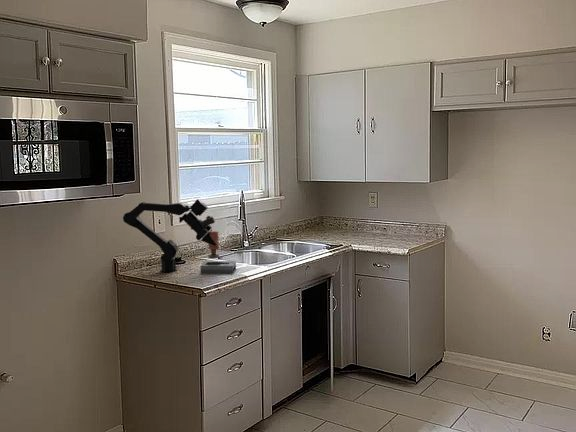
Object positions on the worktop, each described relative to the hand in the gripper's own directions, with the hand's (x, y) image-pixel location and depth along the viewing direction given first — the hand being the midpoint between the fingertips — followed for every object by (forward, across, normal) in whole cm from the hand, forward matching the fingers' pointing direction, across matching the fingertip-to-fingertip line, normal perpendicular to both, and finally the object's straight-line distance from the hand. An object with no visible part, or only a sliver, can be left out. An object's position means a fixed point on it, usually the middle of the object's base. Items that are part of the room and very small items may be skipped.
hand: (216, 244), depth 305 cm
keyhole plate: (+10, -1, +9) cm, 14 cm away
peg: (+4, 0, +6) cm, 7 cm away
